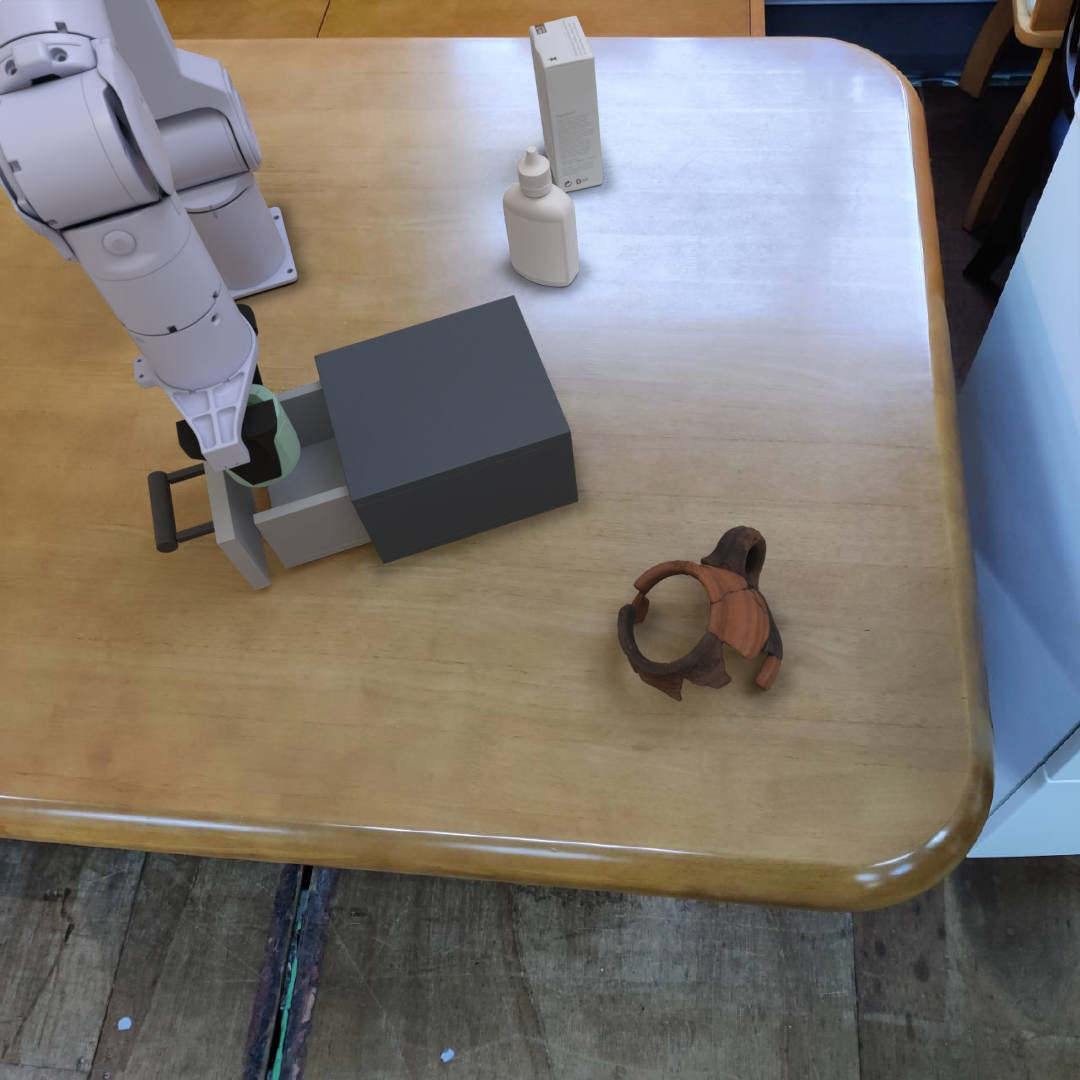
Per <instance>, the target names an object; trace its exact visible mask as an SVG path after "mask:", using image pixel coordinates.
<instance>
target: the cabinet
mask: <svg viewBox="0 0 1080 1080" xmlns="http://www.w3.org/2000/svg"><path fill="white" fill-rule="evenodd" d="M313 358H314V363H315V365H316V371H317V373H318V377H319V381H320V382H321V386H322V390H323V394H324V398H325V402H326V406H327V409H328V413H329V417H330V421H331V425H332V429H333V433H334V437H335V441H336V445H337V448H338V452H339V456H340V460H341V464H342V468H343V472H344V476H345V480H346V484H347V488H348V491H349V495H350V499H351V502H352V504H353V506H354V508H355V510H356V512H357V514H358V516H359V518H360V520H361V521H362V523H363V525H364V527H365V529H366V531H367V533H368V535H369V537H370V539H371V541H372V542H371V543H372V545H373V547H374V549H375V551H376V552H377V555H378V556H379V558H380V561H381V562H382V564H388V563H391V562H394V561H396V560H397V561H398V560H399V559H403V558H406V557H409V556H412V555H414V554H418V553H421V552H424V551H428V550H430V549H433V548H437V547H440V546H443V545H445V544H449V543H453V542H455V541H459V540H462V539H465V538H468V537H471V536H473V535H474V536H475V535H477V534H479V533H484V532H487V531H490V530H493V529H495V528H498V527H501V526H505V525H508V524H512V523H513V522H518V521H520V520H524V519H527V518H529V517H533V516H536V515H539V514H542V513H546V512H548V511H551V510H555V509H557V508H561V507H563V506H566V505H567V506H568V505H570V504H573V503H576V502H579V493H578V492H579V491H578V482H577V475H576V465H575V457H574V447H573V440H572V439H573V438H572V430H571V428H570V425H569V423H568V421H567V419H566V416H565V414H564V411H563V408H562V406H561V404H560V401H559V399H558V396H557V394H556V392H555V389H554V387H553V385H552V382H551V380H550V378H549V376H548V375H549V374H548V373H547V371H546V368H545V365H544V363H543V361H542V358H541V356H540V354H539V351H538V348H537V346H536V344H535V342H534V339H533V336H532V334H531V332H530V330H529V327H528V324H527V323H526V320H525V317H524V314H523V313H522V311H521V308H520V306H519V304H518V300H517V298H516V296H515V295H514V294H512V295H509V296H505V297H501V298H499V299H496V300H492V301H489V302H486V303H483V304H479V305H475V306H473V307H469V308H466V309H463V310H460V311H456V312H453V313H450V314H445V315H444V316H439V317H437V318H434V319H430V320H427V321H424V322H420V323H417V324H414V325H410V326H407V327H403V328H401V329H398V330H395V331H391V332H388V333H384V334H381V335H377V336H375V337H371V338H368V339H365V340H362V341H358V342H355V343H352V344H349V345H345V346H342V347H338V348H336V349H332V350H328V351H326V352H322V353H320V354H316V355H313Z"/></svg>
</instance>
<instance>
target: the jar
mask: <svg viewBox="0 0 1080 1080" xmlns="http://www.w3.org/2000/svg"><path fill="white" fill-rule="evenodd" d="M274 394H275V393H273V392H272V391H270V390H269V389H268V388H266V387H265V385H263V386H262V385H256V384H252V385H251V389H250V393H249V397H248V402H247V406H250V405H254V404H257V403H260V402H263V401H267V400H270V399H273V401H274V406H275V411H276V415H277V433H276V435H275V439H274V443H275V446H276V449H277V452H278V455H279V459H280V464H281V469H282V476H281V477H279V478H276V479H272V480H269V481H266V482H263V483H260V484H257V485H251V484H250V483H248V482H246V481H245V480H243V479H242V478H241V477H239V476H238V475H236V474H235V473H233V472H232V471H230V470H229V469H226V472H227V473H228V474H230V475H231V477H232V478H233V479H234V480H235V481H236V482H238V483H240V484H242V485H244V486H248V487H252V488H265V487H267V486H269V485H272V484H275V483H277V482H279V481H280V480H282V479H284V478H285V477H286V476H287V475H288V474H289V473H290V472H291V471H292V470H293V469H294V468H295V466H296V464H297V462H298V460H299V457H300V449H301V448H300V443H299V440H298V438H297V434H296V432H295V430H294V428H293V426H292V424H291V423H290V421H289V419H288V417H287V415H286V413H285V412H284V410H283V408H282V406H281V405H280V403H279V401H278V399H277V397H276V396H275V395H274ZM247 406H246V407H247Z"/></svg>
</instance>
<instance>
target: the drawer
mask: <svg viewBox="0 0 1080 1080" xmlns="http://www.w3.org/2000/svg"><path fill="white" fill-rule="evenodd" d="M273 394H274V395H275V396H276V397H277V399H278V401H279V403H280V405H281V406H282V408H283V410H284V412H285V413H286V415H287V417H288V419H289V421H290V423H291V424H292V426H293V428H294V430H295V432H296V434H297V438H298V440H299V443H300V448H301V449H300V457H299V460H298V462H297V464H296V466H295V468H294V469H293V470H292V471H291V472H290V473H289V474H288V475H287V476H286V477H285V478H284V479H282V480H280V481H279V482H277V483H275V484H272V485H269V486H266V488H267V493H268V498H269V503H270V508H269V509H266V510H263V511H260V512H258V510H257V505H256V499H255V495H254V490H253V487H248V486H244V485H242V484H240V483H238V482H236V481H235V480H234V479H233V478H232V477H231V475H230V474H228V473H227V472H226V470H223V471H220V472H215V471H214V470H213V468H212V467H211V466H210V464H209V463H208V461H204V460H202V462H200V463H196V464H194V465H190V466H188V467H184V468H181V469H178V470H175V471H172V472H171V471H170V472H168V473H167V472H165V471H163V470H154V471H151V472H150V473H149V474H148V475H147V478H146V479H147V485H148V486H147V487H148V494H149V495H148V496H149V502H150V509H151V517H152V524H153V525H152V526H153V533H154V534H153V535H154V541H155V542H154V543H155V548H156V550H157V552H159V553H162V554H169V553H173V552H175V551H177V550H178V548H179V546H180V545H179V544H182V543H185V542H188V541H192V540H196V539H198V538H201V537H202V538H203V537H205V536H207V535H212V534H214V536H215V540H216V545H217V546H218V548H220V550H221V551H222V552H223V553H224V554H225V556H226V557H227V558H228V559H229V561H230V562H231V563H232V564H233V566H234V567H235V568H236V569H237V570H238V572H239V573H240V574H241V575H242V577H243V579H245V580H246V582H247V583H248V584H249V586H251V588H252V589H253V590H254V591H258V590H262V589H264V588H267V587H270V586H272V583H271V577H270V572H269V571H270V570H269V567H268V561H267V556H266V550H265V545H264V541H263V538H264V539H265V541H266V543H267V544H268V545H269V547H270V548H271V549H272V551H273V552H274V554H275V555H276V556H277V558H278V560H279V561H280V563H282V564H283V566H284V568H285V569H290V568H293V567H296V566H300V565H303V564H306V563H310V562H312V561H316V560H318V559H322V558H324V557H327V556H328V557H329V556H331V555H334V554H338V553H340V552H344V551H346V550H349V549H352V548H356V547H359V546H363V545H365V544H369V543H372V541H371V539H370V537H369V535H368V533H367V531H366V529H365V527H364V525H363V523H362V521H361V520H360V518H359V516H358V514H357V512H356V510H355V508H354V506H353V504H352V502H351V499H350V495H349V491H348V488H347V484H346V480H345V476H344V472H343V468H342V464H341V460H340V456H339V452H338V448H337V445H336V441H335V437H334V433H333V429H332V425H331V421H330V417H329V413H328V409H327V406H326V402H325V398H324V394H323V390H322V386H321V382H320V380H317V381H313V382H310V383H307V384H304V385H299V386H298V387H294V388H291V389H288V390H284V391H281V392H278V393H273ZM203 475H205V480H206V486H207V493H208V498H209V499H208V500H209V504H210V511H211V517H212V520H211V521H207V522H204V523H201V524H198V525H194V526H192V527H188V528H186V529H182V530H179V531H178V530H177V524H176V523H177V522H176V518H175V517H176V516H175V510H174V503H173V496H172V490H171V489H172V487H171V485H174V484H177V483H181V482H184V481H188V480H190V479H191V480H192V479H194V478H197V477H200V476H203Z"/></svg>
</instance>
